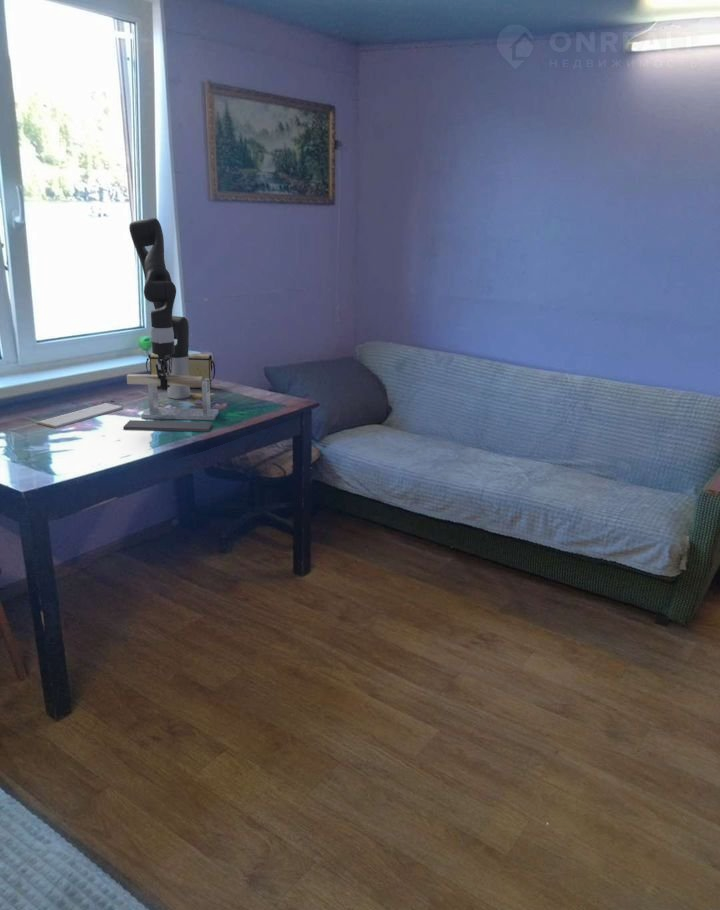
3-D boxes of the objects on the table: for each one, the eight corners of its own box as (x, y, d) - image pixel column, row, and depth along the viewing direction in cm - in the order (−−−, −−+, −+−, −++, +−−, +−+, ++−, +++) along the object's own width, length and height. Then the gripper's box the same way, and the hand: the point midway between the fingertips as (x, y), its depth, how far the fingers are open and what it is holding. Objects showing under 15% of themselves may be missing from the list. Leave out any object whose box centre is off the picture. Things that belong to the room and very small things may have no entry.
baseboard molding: (33, 424, 254) (55, 430, 248) (32, 416, 253) (54, 422, 247) (101, 405, 279) (123, 410, 274) (101, 398, 278) (122, 403, 273)
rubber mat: (130, 422, 257) (129, 420, 257) (212, 425, 258) (212, 422, 257) (123, 429, 249) (123, 426, 249) (208, 431, 250) (208, 429, 250)
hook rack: (148, 410, 272) (146, 375, 267) (218, 412, 273) (217, 377, 268) (141, 418, 263) (138, 381, 258) (213, 420, 263) (212, 384, 259)
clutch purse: (217, 385, 314) (215, 352, 309) (214, 389, 307) (213, 355, 302) (149, 384, 312) (147, 350, 307) (145, 388, 305) (143, 354, 300)
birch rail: (129, 382, 249) (129, 373, 248) (203, 384, 250) (202, 376, 249) (127, 384, 246) (126, 375, 245) (201, 386, 247) (200, 378, 246)
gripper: (157, 336, 249) (160, 383, 255) (146, 343, 236) (149, 392, 242) (178, 336, 250) (180, 384, 255) (168, 343, 236) (171, 393, 242)
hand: (165, 388), depth 249 cm, fingers closed on birch rail, 3 cm apart
